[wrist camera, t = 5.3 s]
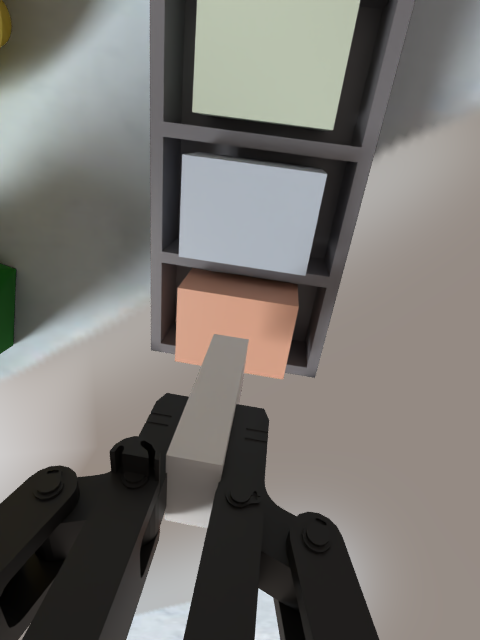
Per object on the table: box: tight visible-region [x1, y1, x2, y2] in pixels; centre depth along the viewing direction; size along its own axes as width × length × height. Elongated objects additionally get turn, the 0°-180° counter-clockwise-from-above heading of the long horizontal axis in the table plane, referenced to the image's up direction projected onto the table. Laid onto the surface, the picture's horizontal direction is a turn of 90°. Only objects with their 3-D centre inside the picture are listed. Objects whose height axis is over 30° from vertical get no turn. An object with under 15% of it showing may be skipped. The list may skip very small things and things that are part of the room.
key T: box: [192, 0, 360, 131], centre depth 15 cm, size 4×6×3 cm
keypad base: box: [150, 0, 415, 377], centre depth 18 cm, size 24×10×5 cm, turn 173°
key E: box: [175, 268, 299, 379], centre depth 20 cm, size 4×6×3 cm
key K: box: [179, 152, 327, 276], centre depth 17 cm, size 4×6×3 cm
